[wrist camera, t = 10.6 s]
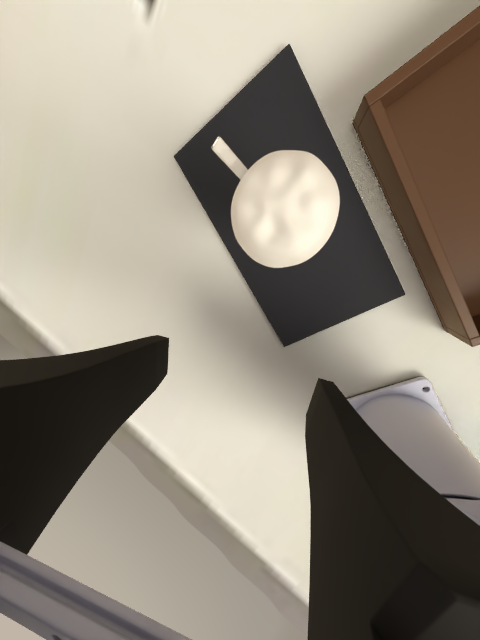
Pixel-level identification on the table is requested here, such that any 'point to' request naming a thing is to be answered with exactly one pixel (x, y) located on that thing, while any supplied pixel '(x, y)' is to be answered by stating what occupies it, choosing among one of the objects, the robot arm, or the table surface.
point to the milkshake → (282, 205)
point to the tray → (434, 167)
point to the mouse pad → (353, 220)
